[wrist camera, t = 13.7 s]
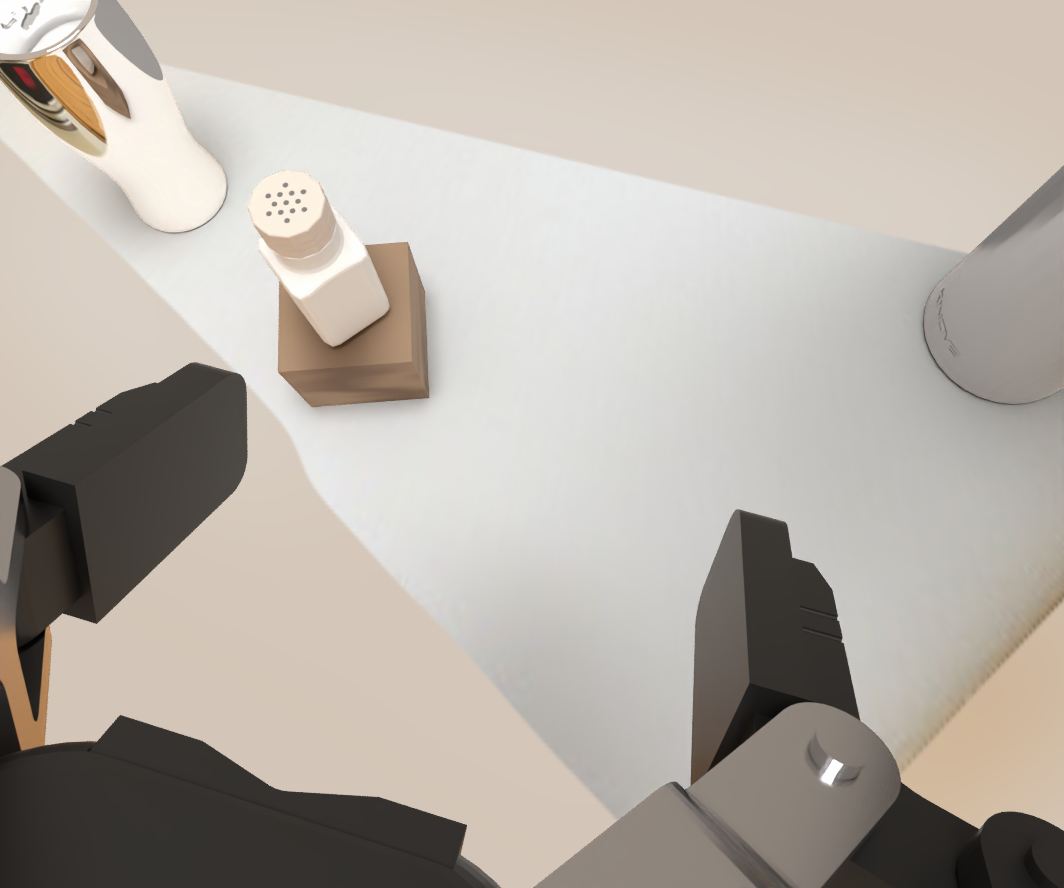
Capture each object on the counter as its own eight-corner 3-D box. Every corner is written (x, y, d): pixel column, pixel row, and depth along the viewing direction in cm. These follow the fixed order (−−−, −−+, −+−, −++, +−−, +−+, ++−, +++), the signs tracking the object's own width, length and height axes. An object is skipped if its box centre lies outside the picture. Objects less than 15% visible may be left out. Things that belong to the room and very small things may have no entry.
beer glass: (108, 220, 48) (-80, 37, 34) (159, 133, 50) (1, -77, 36) (203, 253, 48) (53, 81, 33) (252, 163, 49) (130, -38, 35)
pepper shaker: (354, 258, 41) (301, 144, 32) (396, 312, 40) (353, 210, 31) (292, 299, 40) (219, 195, 31) (333, 354, 39) (270, 263, 30)
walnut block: (424, 292, 47) (407, 241, 41) (429, 398, 45) (412, 361, 39) (312, 300, 47) (279, 251, 41) (312, 407, 45) (278, 372, 39)
